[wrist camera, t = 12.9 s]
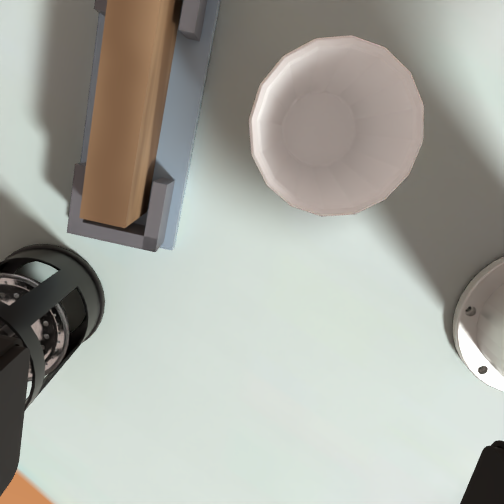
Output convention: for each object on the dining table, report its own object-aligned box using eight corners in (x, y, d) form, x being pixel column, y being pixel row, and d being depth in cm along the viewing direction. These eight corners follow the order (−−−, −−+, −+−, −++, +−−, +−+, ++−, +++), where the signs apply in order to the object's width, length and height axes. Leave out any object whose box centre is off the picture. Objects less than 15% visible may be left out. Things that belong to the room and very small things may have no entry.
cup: (338, 218, 37) (362, 247, 28) (228, 155, 36) (216, 164, 27) (410, 103, 34) (462, 94, 25) (294, 32, 33) (306, -4, 24)
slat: (184, -12, 32) (167, -44, 26) (146, 212, 36) (124, 228, 30) (141, -23, 32) (114, -57, 26) (108, 203, 36) (79, 218, 30)
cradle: (227, -37, 32) (222, -60, 28) (174, 247, 38) (164, 260, 34) (114, -65, 32) (93, -92, 28) (77, 225, 37) (55, 236, 33)
